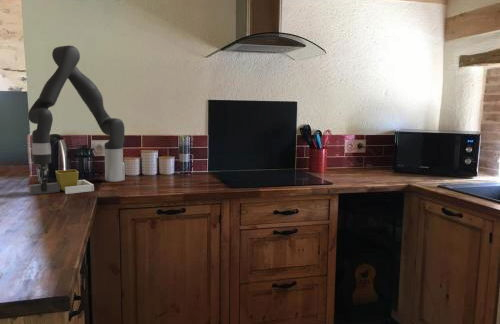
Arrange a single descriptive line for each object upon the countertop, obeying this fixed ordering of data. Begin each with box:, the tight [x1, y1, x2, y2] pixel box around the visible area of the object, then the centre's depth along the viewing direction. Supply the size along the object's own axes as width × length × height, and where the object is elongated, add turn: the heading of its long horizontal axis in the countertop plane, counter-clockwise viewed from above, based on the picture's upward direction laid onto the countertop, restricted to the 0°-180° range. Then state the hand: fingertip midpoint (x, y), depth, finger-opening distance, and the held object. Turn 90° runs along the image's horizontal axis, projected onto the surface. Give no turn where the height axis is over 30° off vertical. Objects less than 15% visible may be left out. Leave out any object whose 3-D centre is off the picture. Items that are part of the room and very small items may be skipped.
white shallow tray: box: [64, 179, 95, 195], centre depth 193 cm, size 12×15×3 cm
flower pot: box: [55, 169, 79, 192], centre depth 192 cm, size 9×9×9 cm
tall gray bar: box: [28, 181, 61, 196], centre depth 185 cm, size 12×3×4 cm, turn 127°
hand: (43, 190), depth 185 cm, fingers closed on tall gray bar, 3 cm apart
